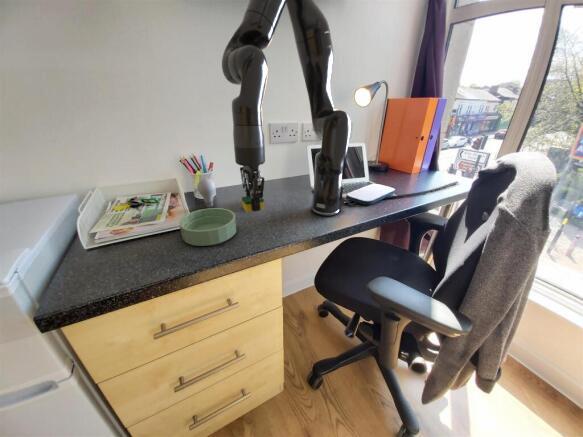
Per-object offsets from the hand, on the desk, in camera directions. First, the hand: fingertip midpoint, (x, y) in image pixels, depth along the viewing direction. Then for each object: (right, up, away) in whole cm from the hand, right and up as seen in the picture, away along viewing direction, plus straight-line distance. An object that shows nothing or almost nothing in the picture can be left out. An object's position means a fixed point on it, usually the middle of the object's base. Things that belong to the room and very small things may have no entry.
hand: (253, 207), depth 66 cm
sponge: (0, 0, 0) cm, 0 cm away
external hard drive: (+44, +6, +33) cm, 55 cm away
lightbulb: (-19, +1, +21) cm, 29 cm away
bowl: (-13, -8, +4) cm, 16 cm away
